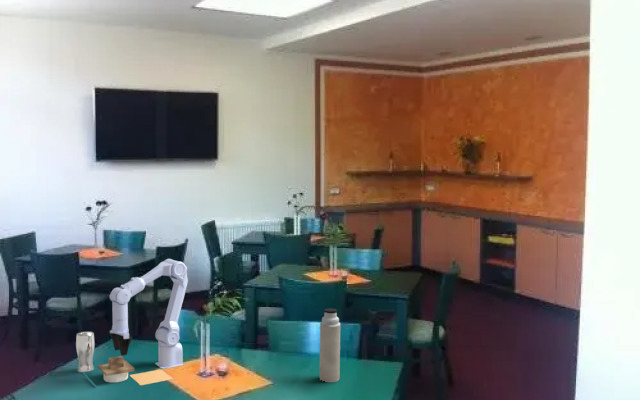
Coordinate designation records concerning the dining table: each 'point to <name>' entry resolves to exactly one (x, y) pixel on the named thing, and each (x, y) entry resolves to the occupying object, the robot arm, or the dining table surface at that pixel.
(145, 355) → the dining table surface
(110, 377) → the bowl
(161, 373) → the mat
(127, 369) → the lid
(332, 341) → the thermos bottle
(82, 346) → the beer glass
